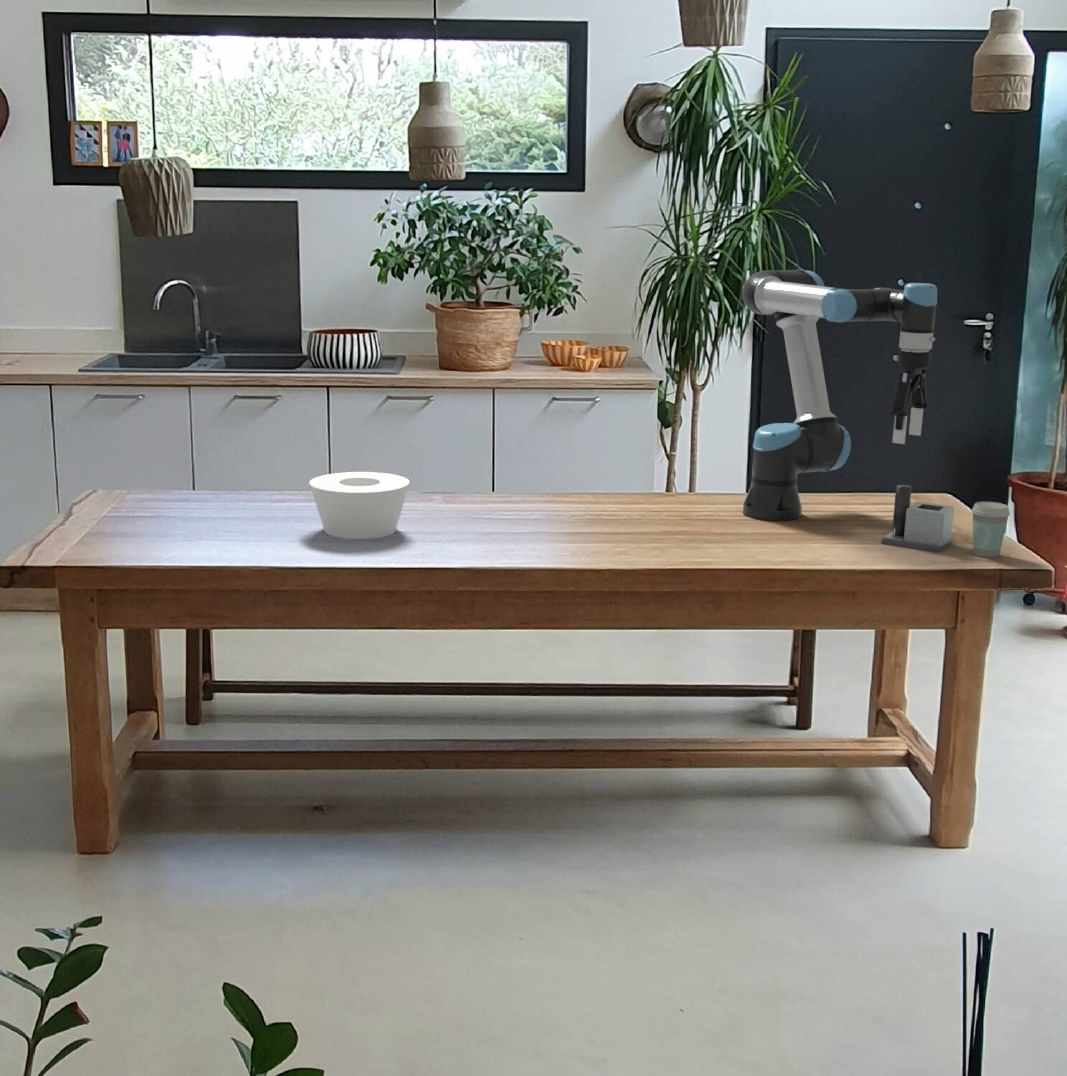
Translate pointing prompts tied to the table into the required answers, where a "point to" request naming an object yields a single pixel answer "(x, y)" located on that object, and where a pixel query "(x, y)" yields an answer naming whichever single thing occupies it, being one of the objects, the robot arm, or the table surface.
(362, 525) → the white tapered cylinder
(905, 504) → the black tapered cylinder
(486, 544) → the table surface
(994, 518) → the coffee cup
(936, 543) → the square frame housing
